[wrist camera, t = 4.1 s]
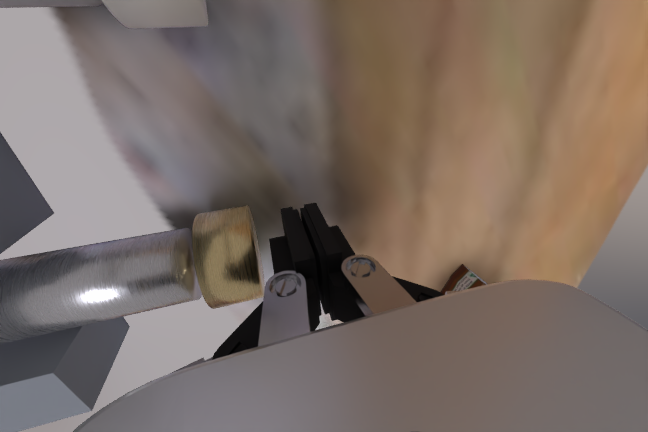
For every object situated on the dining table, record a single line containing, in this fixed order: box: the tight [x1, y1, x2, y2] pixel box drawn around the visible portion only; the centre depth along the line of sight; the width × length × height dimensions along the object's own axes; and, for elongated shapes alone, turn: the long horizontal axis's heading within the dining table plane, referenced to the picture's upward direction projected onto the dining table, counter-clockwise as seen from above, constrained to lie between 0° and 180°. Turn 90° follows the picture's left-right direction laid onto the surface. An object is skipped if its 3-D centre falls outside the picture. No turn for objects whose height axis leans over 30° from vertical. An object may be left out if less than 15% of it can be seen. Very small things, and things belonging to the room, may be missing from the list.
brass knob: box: [0, 206, 265, 344], centre depth 10 cm, size 4×10×4 cm, turn 94°
